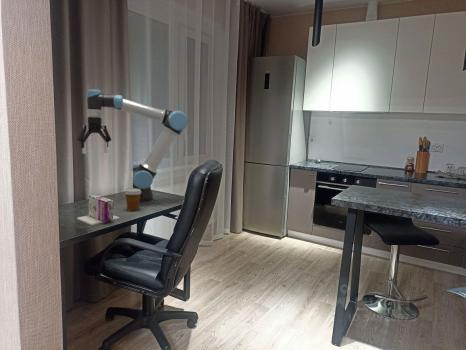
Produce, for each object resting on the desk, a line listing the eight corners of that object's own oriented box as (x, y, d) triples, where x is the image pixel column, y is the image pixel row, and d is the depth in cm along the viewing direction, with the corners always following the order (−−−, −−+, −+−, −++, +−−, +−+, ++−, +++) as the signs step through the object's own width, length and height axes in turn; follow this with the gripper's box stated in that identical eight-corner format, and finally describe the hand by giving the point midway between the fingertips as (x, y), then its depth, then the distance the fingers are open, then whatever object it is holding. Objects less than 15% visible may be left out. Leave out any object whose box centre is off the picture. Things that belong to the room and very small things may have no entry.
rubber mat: (104, 213, 186) (104, 211, 186) (119, 218, 178) (119, 217, 178) (76, 219, 174) (76, 217, 173) (91, 225, 165) (91, 223, 165)
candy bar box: (114, 200, 170) (96, 194, 180) (105, 201, 166) (87, 195, 176) (113, 221, 172) (96, 214, 181) (105, 223, 168) (87, 215, 177)
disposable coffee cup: (123, 211, 191) (123, 191, 189) (125, 207, 200) (125, 188, 198) (140, 211, 193) (140, 191, 191) (141, 207, 202) (142, 188, 200)
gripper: (77, 116, 181) (78, 154, 185) (117, 117, 201) (117, 152, 205) (70, 115, 186) (71, 153, 189) (110, 117, 205) (110, 151, 209)
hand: (95, 153), depth 197 cm, fingers open, 13 cm apart
